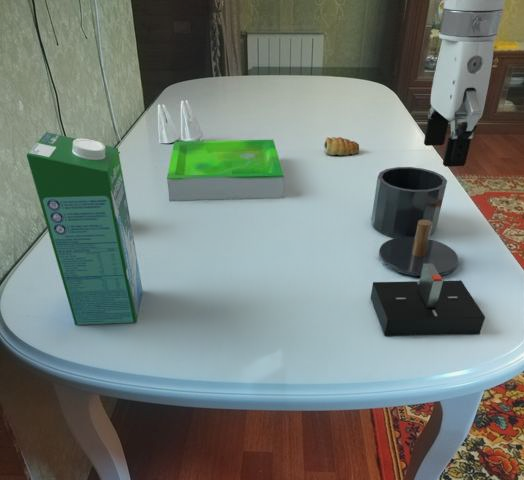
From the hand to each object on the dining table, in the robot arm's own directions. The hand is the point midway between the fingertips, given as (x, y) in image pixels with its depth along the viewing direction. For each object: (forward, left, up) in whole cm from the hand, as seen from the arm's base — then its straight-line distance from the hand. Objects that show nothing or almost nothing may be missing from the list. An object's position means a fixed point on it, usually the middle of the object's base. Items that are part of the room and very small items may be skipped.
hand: (443, 154), depth 79 cm
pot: (-1, -14, -18) cm, 23 cm away
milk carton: (+52, +13, -19) cm, 57 cm away
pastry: (+5, -59, -19) cm, 62 cm away
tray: (+35, -41, -19) cm, 57 cm away
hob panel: (+4, +17, -18) cm, 25 cm away
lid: (+1, 0, -18) cm, 18 cm away
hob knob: (+4, +17, -15) cm, 23 cm away
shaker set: (+48, -69, -19) cm, 86 cm away
